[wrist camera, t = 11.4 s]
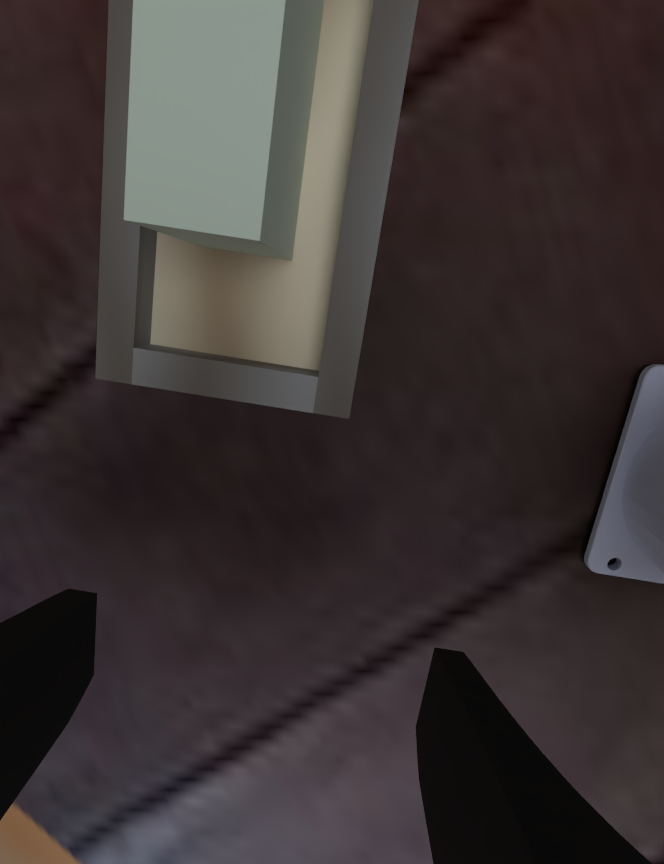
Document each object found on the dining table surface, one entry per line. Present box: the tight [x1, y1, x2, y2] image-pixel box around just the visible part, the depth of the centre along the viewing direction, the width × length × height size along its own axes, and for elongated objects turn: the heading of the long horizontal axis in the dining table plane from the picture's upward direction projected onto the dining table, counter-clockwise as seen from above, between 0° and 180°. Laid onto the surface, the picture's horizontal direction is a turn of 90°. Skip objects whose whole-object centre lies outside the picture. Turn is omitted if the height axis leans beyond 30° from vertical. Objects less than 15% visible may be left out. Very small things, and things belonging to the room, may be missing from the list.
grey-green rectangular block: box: [124, 0, 324, 261], centre depth 13 cm, size 3×9×6 cm, turn 171°
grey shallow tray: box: [95, 0, 419, 419], centre depth 16 cm, size 8×18×2 cm, turn 171°
